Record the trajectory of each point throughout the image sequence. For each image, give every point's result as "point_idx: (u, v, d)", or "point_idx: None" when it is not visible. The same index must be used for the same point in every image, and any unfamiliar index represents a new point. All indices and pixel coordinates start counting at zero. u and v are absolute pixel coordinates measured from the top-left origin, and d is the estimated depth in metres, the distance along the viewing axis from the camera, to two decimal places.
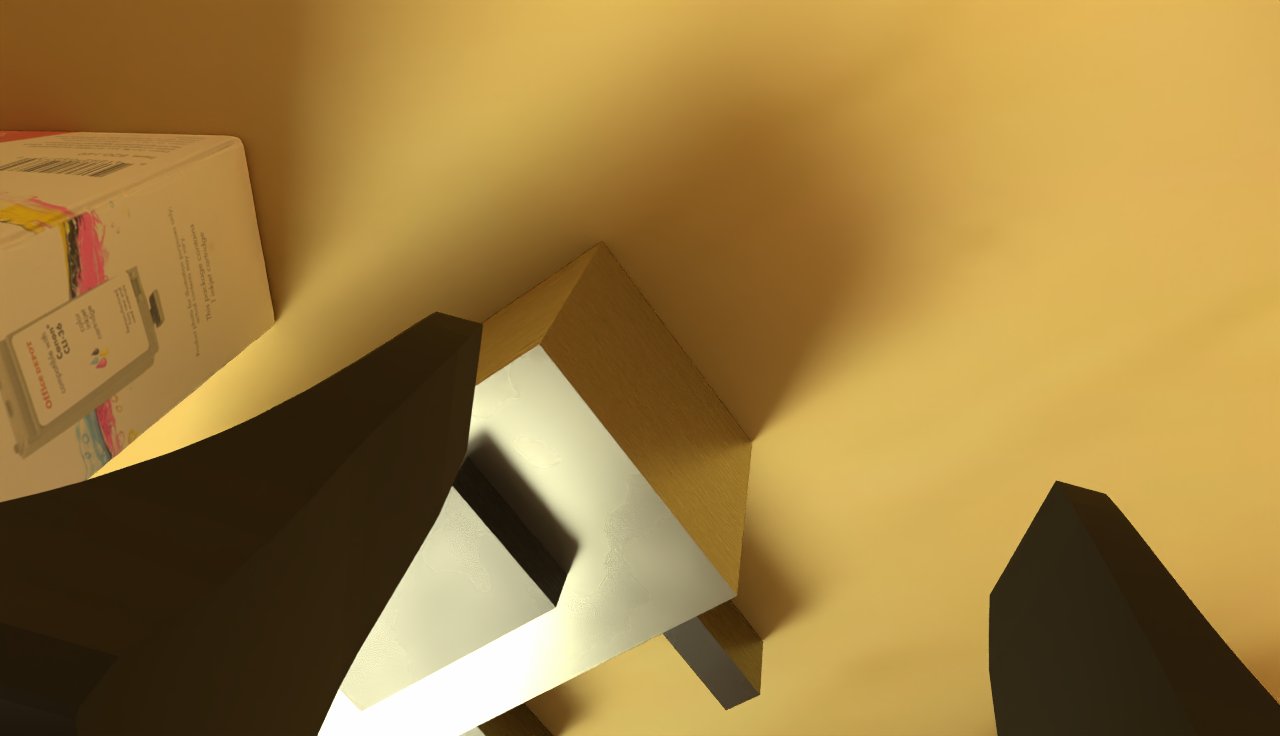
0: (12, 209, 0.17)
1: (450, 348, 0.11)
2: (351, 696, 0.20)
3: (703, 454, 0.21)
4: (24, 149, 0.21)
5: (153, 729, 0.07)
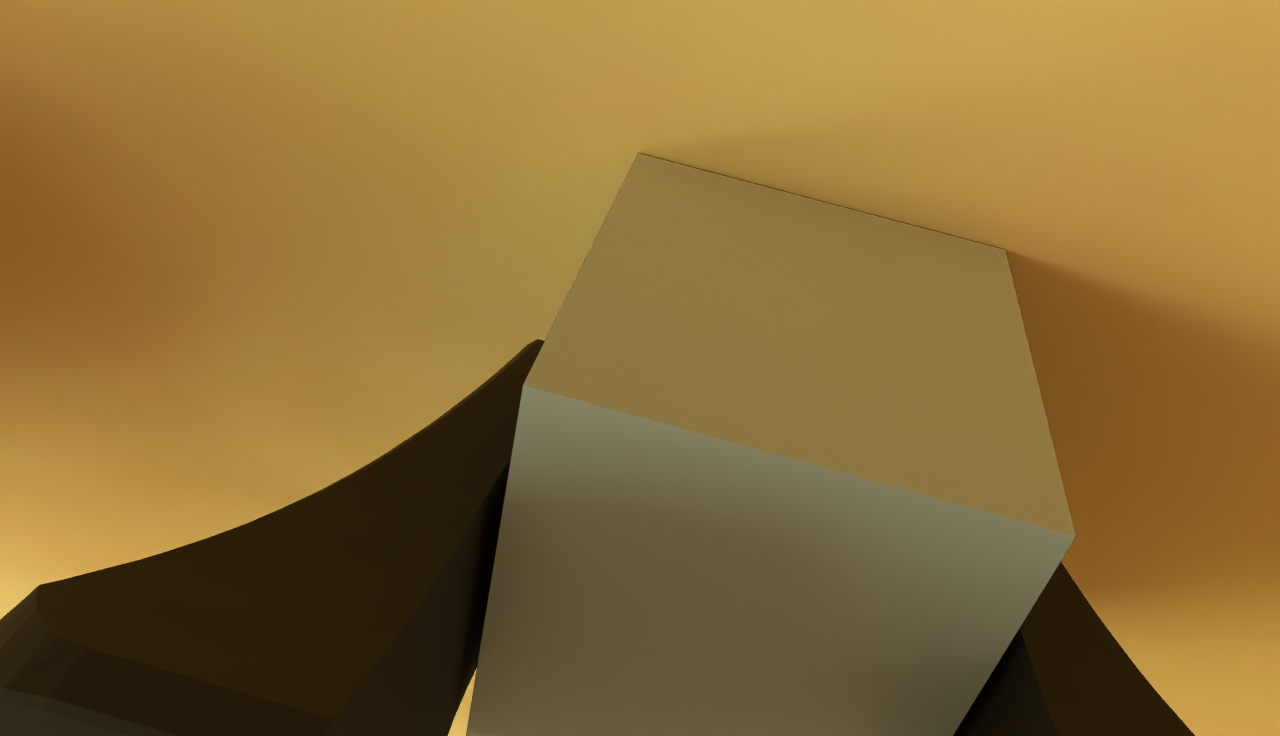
0: None
1: None
2: None
3: None
4: None
5: None
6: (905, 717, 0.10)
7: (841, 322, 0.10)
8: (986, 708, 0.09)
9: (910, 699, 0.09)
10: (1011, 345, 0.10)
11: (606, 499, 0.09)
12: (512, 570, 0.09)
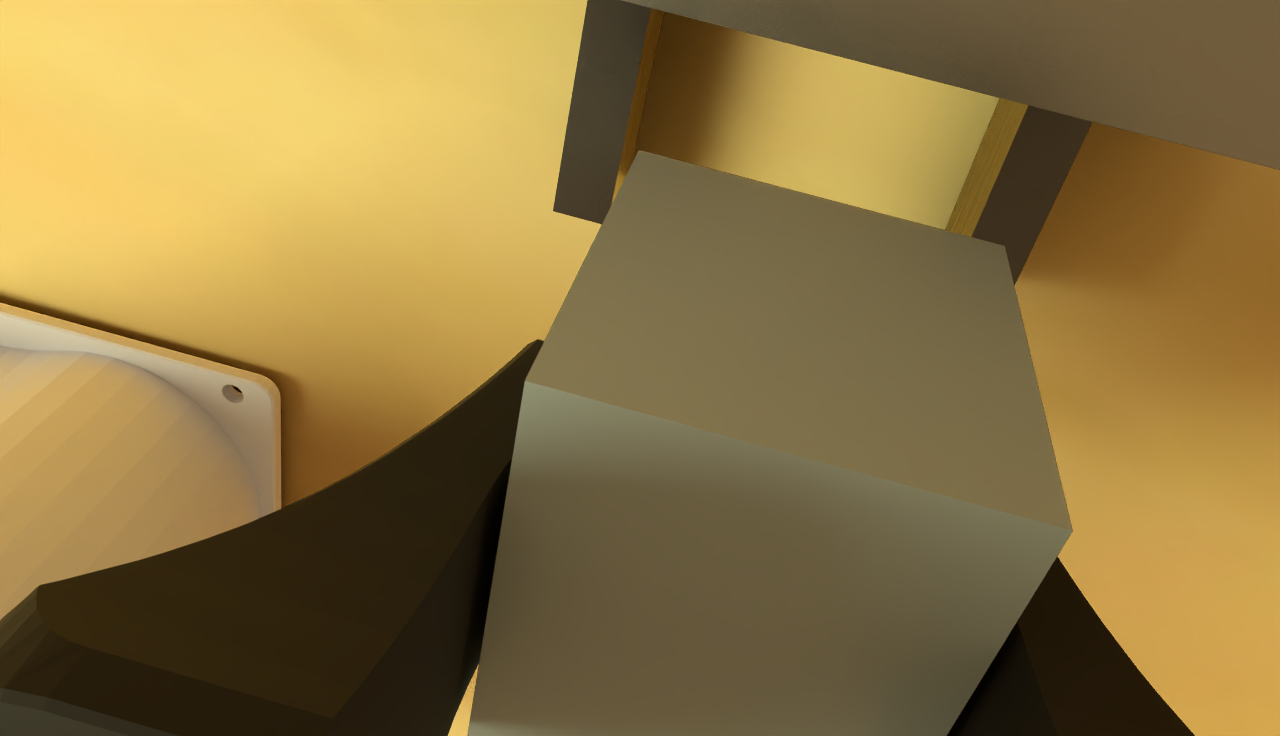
0: None
1: None
2: None
3: None
4: None
5: None
6: (905, 710, 0.10)
7: (841, 318, 0.10)
8: (986, 708, 0.09)
9: (908, 692, 0.09)
10: (1010, 341, 0.10)
11: (608, 494, 0.09)
12: (514, 564, 0.09)
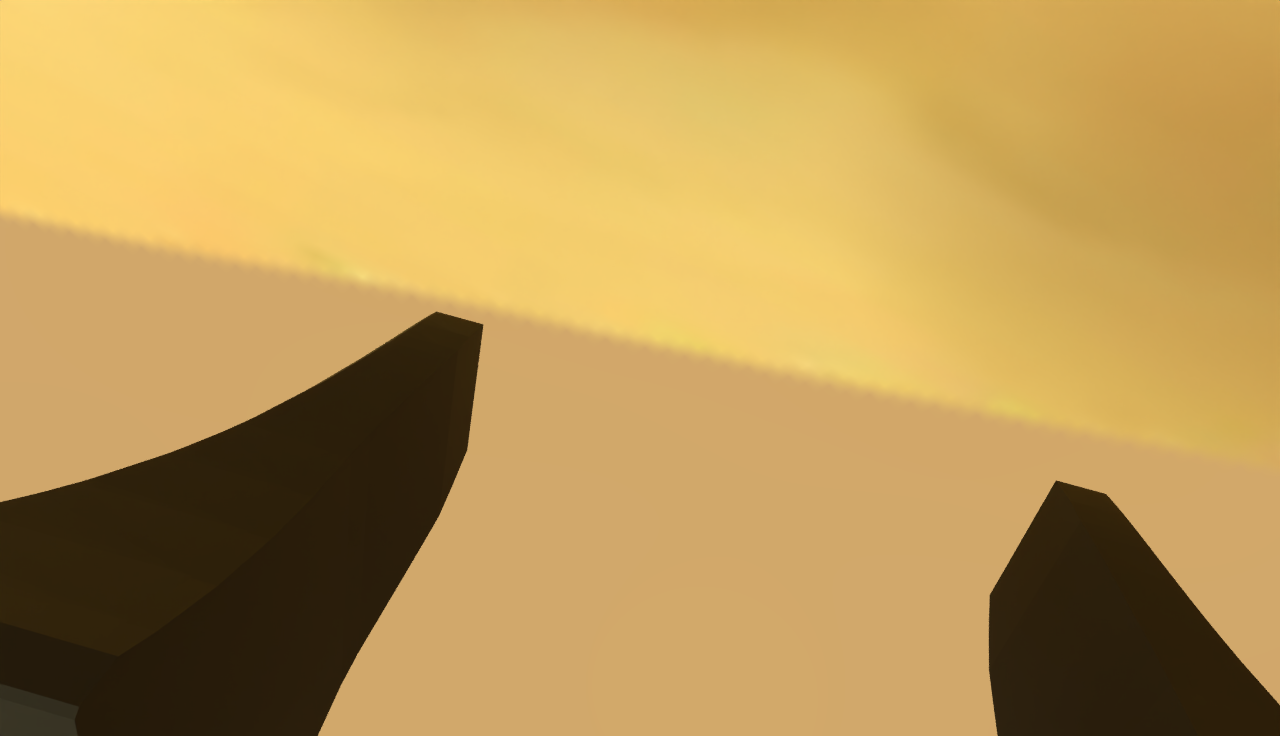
0: None
1: (450, 348, 0.11)
2: None
3: None
4: None
5: (153, 729, 0.07)
6: None
7: None
8: None
9: None
10: None
11: None
12: None
